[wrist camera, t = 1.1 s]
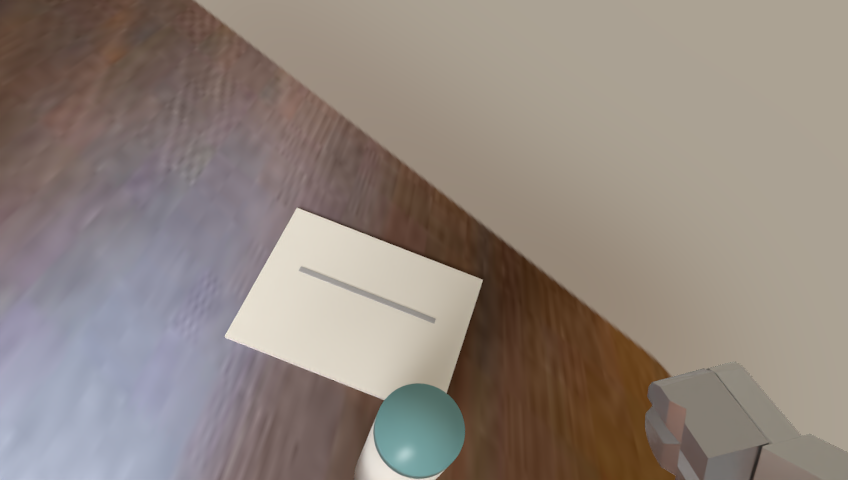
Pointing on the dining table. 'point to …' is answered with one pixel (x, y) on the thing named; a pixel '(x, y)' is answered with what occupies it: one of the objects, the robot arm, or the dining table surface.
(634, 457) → the dining table surface
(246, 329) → the paper
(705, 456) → the robot arm
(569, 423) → the dining table surface
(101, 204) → the dining table surface
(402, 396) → the marker
